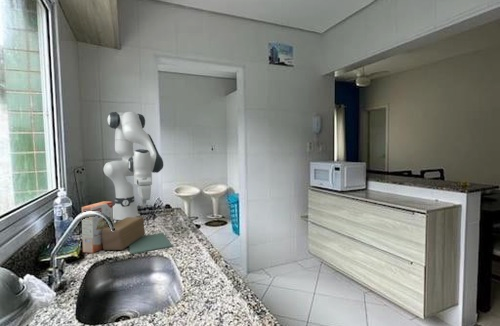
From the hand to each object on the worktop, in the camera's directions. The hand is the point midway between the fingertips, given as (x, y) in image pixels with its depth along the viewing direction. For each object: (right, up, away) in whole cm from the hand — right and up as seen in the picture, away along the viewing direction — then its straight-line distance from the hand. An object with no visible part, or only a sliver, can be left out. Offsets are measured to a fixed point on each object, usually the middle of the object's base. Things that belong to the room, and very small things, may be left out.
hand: (143, 205), depth 140 cm
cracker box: (-15, -17, -16) cm, 28 cm away
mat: (+6, -17, -10) cm, 21 cm away
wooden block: (-4, -10, -1) cm, 11 cm away
